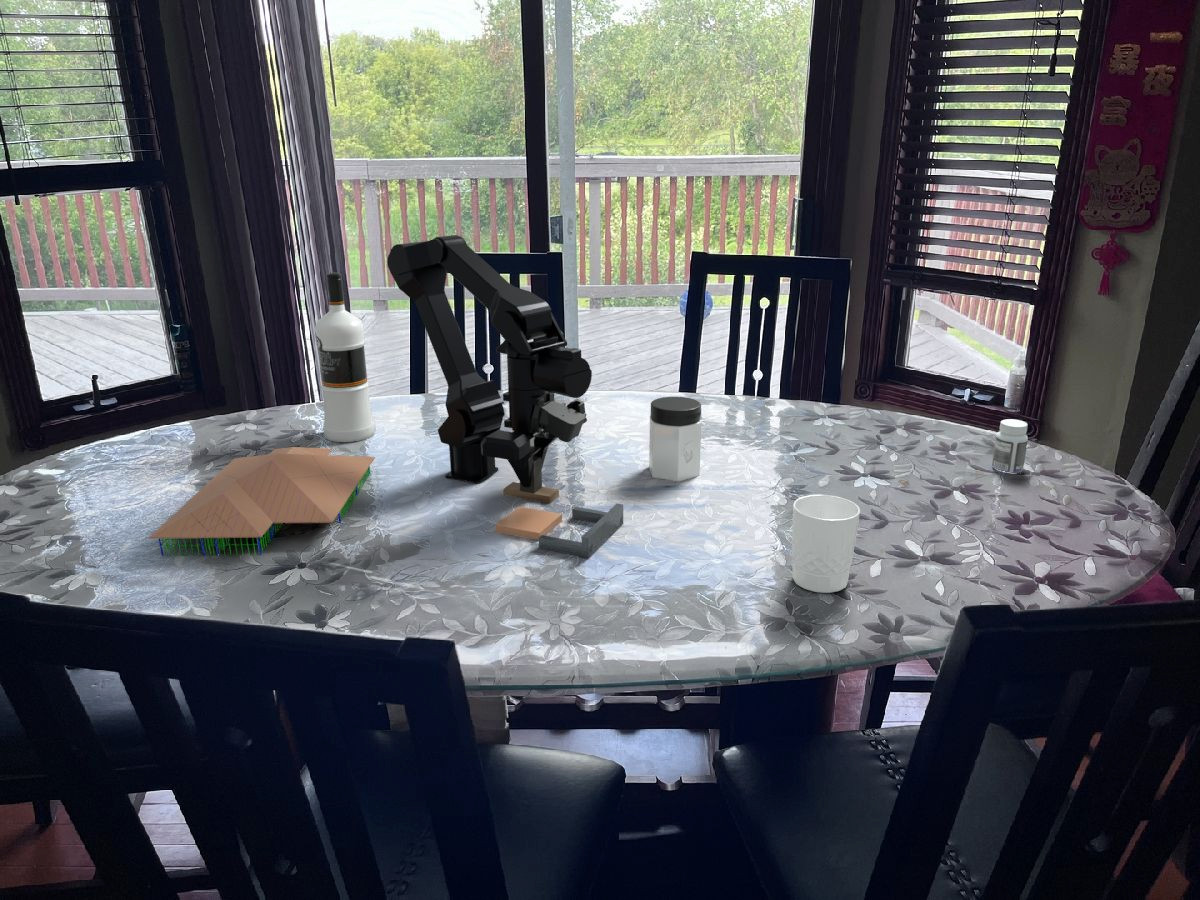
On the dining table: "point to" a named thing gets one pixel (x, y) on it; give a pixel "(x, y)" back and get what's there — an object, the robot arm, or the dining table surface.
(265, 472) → the house
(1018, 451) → the pill bottle
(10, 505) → the dining table surface
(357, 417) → the vodka
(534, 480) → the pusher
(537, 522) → the tile
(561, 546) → the grey u-shaped frame
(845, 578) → the white cup
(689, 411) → the jar
